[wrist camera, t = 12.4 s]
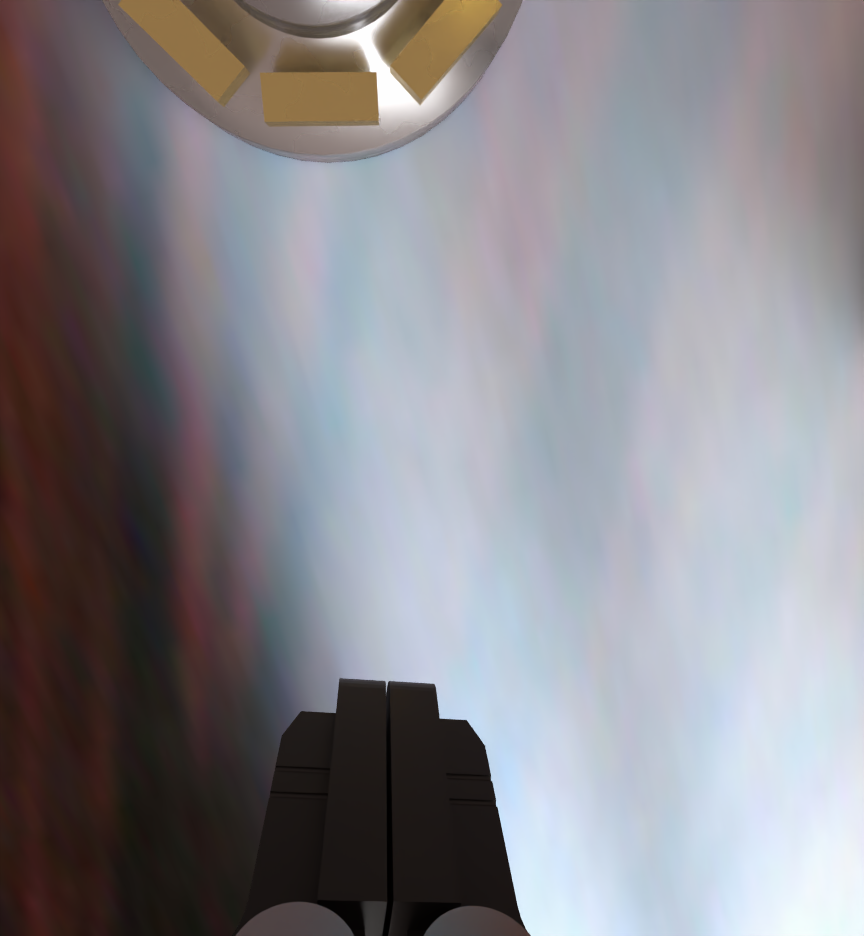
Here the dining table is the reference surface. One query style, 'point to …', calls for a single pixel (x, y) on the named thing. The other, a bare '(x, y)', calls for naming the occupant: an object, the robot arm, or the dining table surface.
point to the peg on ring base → (315, 92)
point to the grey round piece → (320, 67)
